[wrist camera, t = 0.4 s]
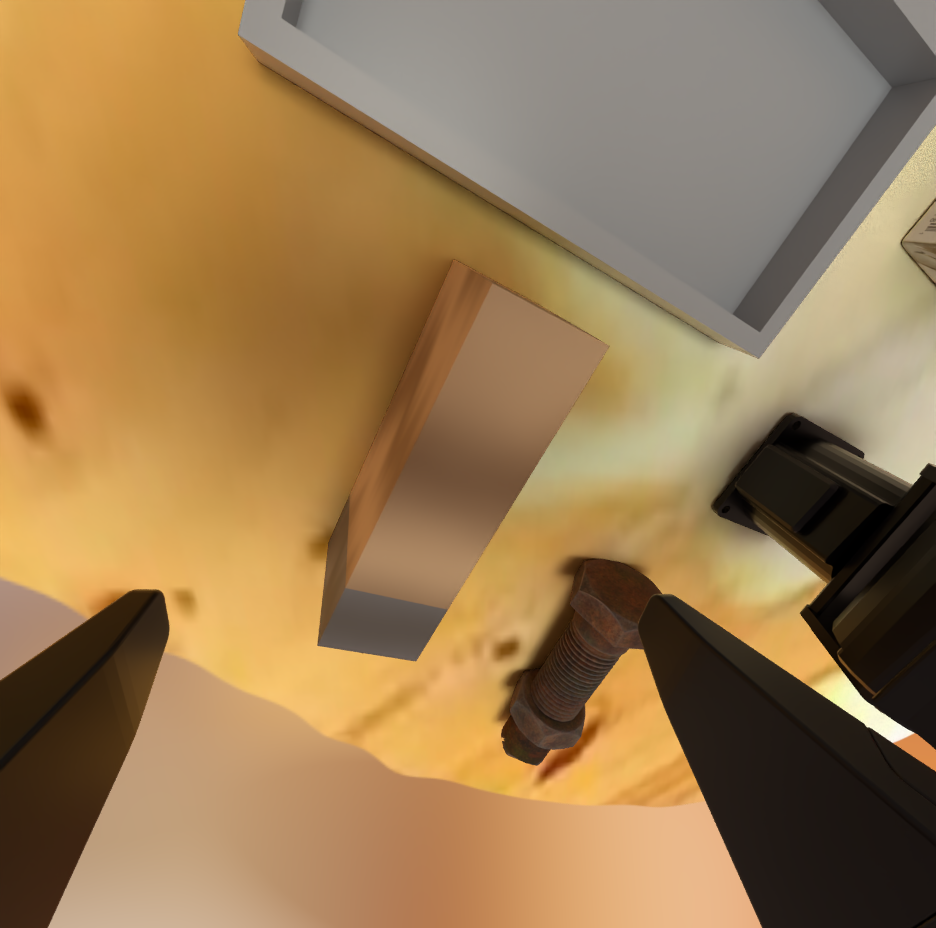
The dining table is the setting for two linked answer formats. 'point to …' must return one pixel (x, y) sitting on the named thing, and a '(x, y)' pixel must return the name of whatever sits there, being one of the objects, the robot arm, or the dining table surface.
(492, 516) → the brown rectangular block
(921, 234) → the coffee box
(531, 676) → the bolt
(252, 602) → the dining table surface
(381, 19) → the tray
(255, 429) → the dining table surface
